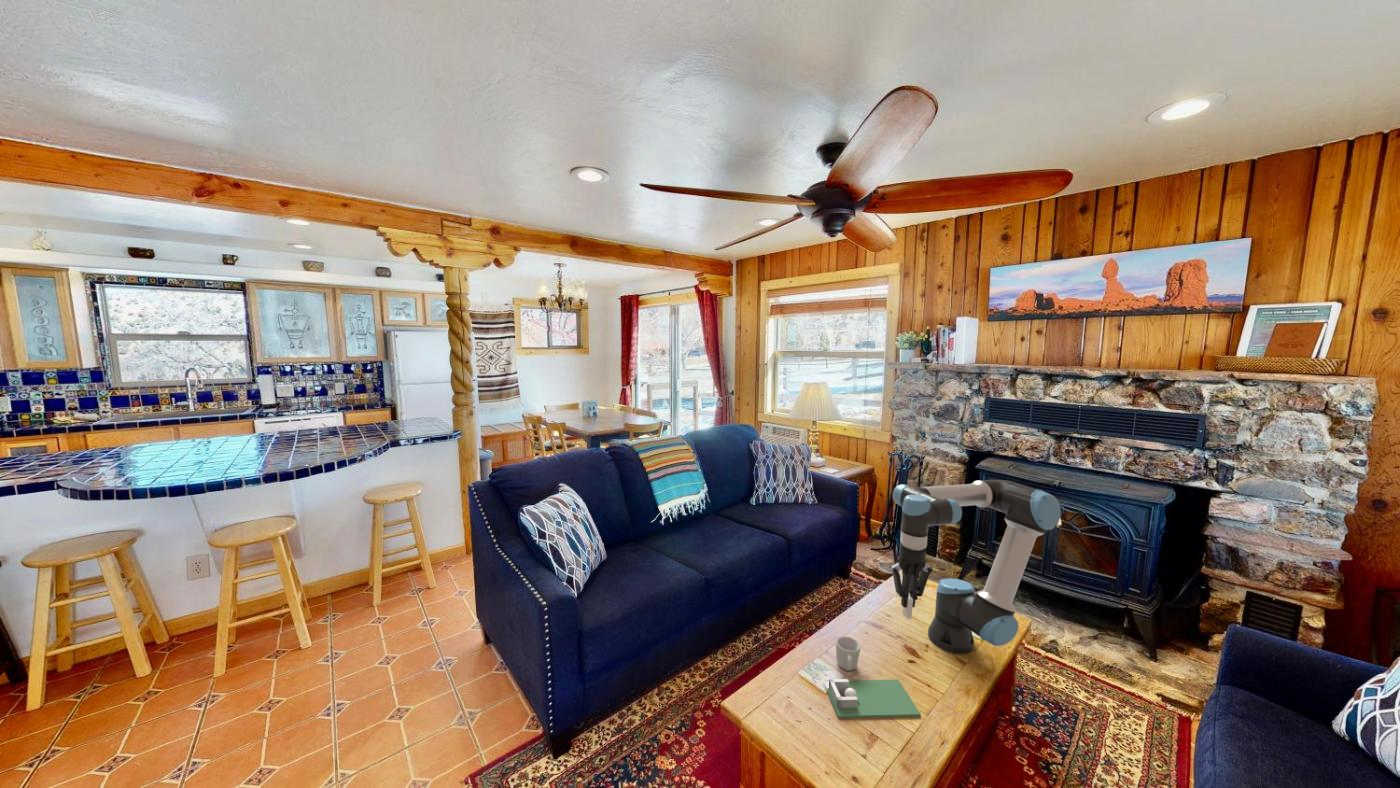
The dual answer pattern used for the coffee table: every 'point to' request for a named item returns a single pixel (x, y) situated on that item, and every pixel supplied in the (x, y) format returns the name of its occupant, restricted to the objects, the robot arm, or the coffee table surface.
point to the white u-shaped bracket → (839, 686)
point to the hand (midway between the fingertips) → (907, 615)
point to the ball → (850, 692)
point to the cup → (847, 652)
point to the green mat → (878, 700)
